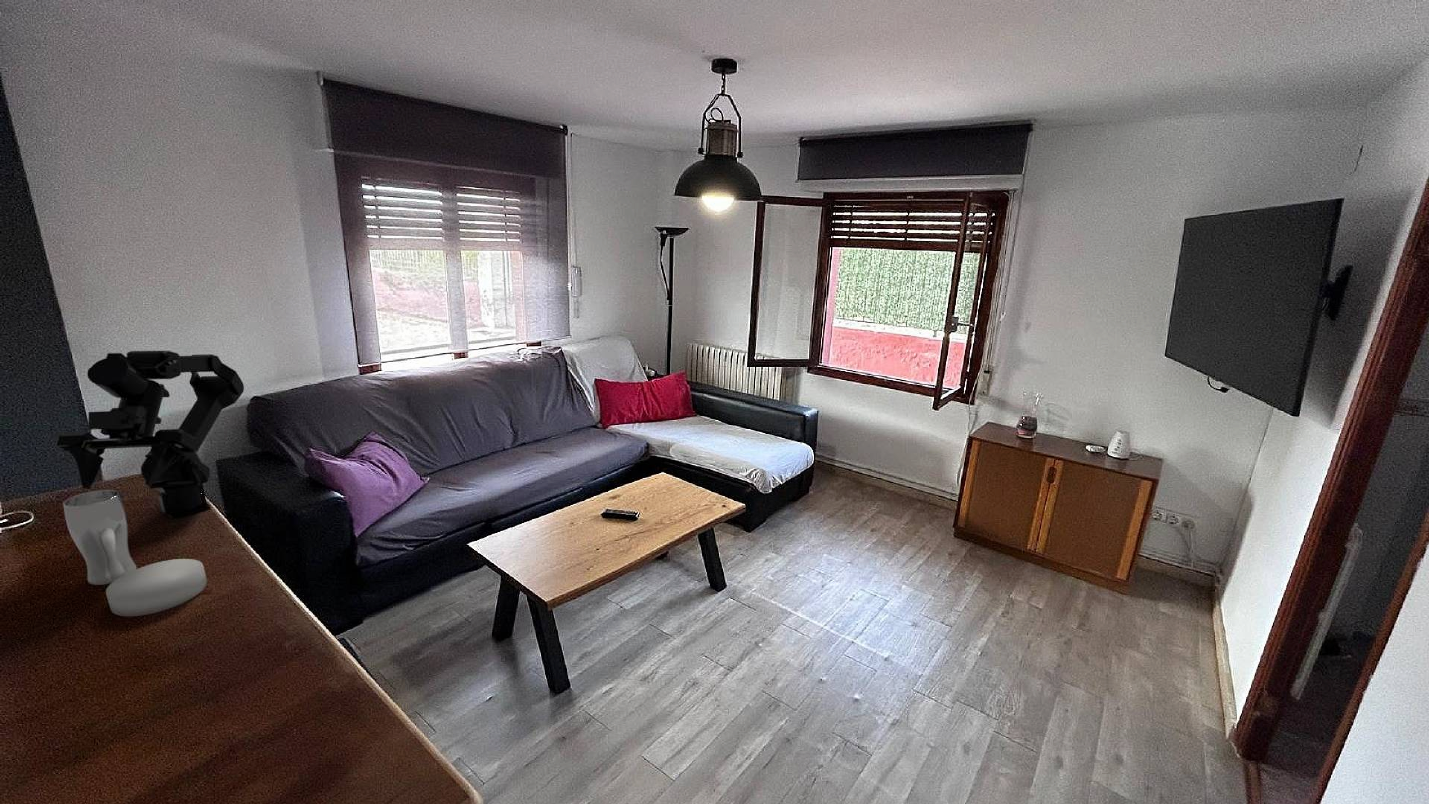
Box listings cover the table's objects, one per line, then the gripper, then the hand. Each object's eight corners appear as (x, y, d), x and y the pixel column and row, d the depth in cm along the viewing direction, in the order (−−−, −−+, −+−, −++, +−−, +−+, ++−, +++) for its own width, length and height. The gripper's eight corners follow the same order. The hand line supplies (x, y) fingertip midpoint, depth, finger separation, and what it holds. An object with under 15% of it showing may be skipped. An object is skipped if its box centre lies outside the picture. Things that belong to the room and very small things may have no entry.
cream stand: (192, 566, 107) (189, 551, 106) (218, 589, 101) (214, 574, 100) (100, 597, 98) (96, 582, 97) (123, 626, 91) (118, 609, 90)
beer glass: (151, 566, 107) (131, 490, 102) (109, 588, 100) (86, 508, 96) (116, 562, 107) (95, 487, 103) (72, 584, 101) (48, 505, 96)
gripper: (45, 391, 104) (15, 476, 97) (173, 388, 109) (152, 468, 102) (89, 417, 113) (65, 495, 107) (205, 413, 118) (188, 488, 112)
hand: (117, 486), depth 107 cm, fingers open, 9 cm apart
